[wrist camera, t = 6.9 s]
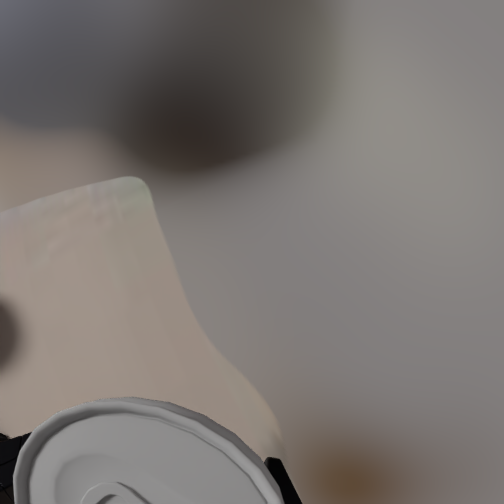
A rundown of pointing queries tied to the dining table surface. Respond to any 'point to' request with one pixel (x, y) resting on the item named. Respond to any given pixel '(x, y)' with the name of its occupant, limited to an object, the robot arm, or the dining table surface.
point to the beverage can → (138, 458)
